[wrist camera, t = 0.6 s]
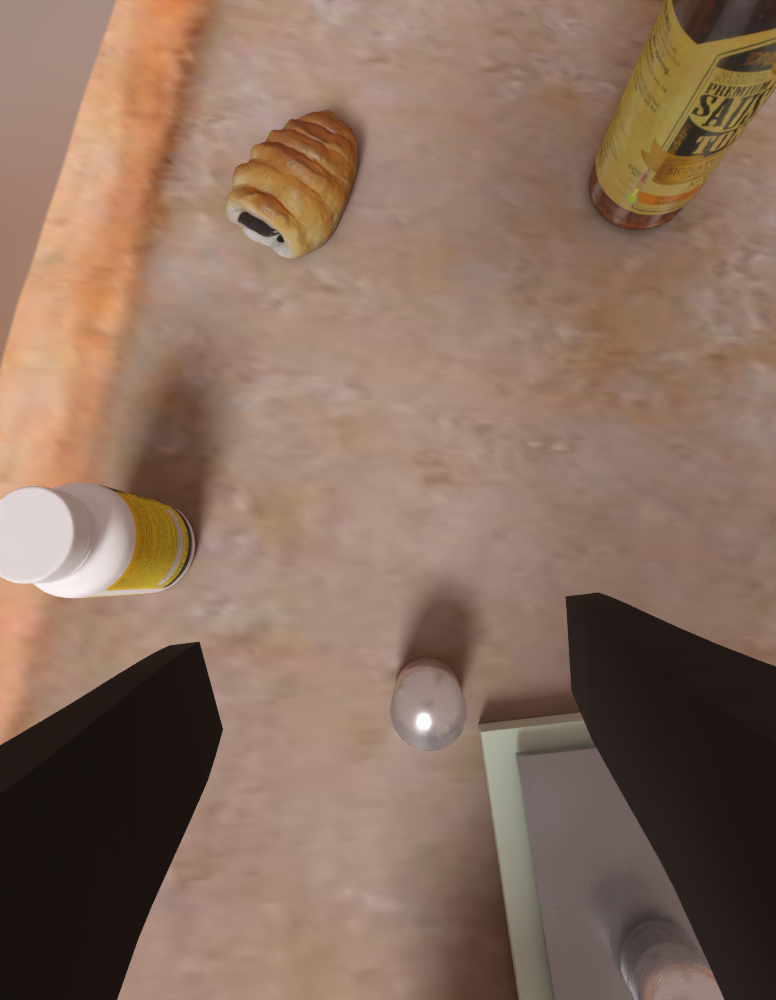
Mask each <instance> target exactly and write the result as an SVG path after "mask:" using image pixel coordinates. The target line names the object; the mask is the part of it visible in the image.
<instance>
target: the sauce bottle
mask: <svg viewBox="0 0 776 1000" xmlns="http://www.w3.org/2000/svg"><path fill="white" fill-rule="evenodd" d="M775 88H776V0H664V3H663V5H662V7H661V9H660V12H659V14H658V16H657V18H656V21H655V23H654V25H653V27H652V30H651V32H650V34H649V36H648V39H647V41H646V43H645V45H644V48H643V50H642V52H641V54H640V57H639V59H638V61H637V63H636V66H635V68H634V70H633V72H632V75H631V77H630V79H629V81H628V84H627V86H626V88H625V90H624V93H623V95H622V97H621V99H620V101H619V104H618V106H617V108H616V110H615V113H614V115H613V117H612V119H611V122H610V124H609V126H608V129H607V131H606V133H605V135H604V138H603V140H602V142H601V144H600V147H599V149H598V151H597V154H596V162H595V164H594V167H593V169H592V173H591V175H590V179H589V191H590V198H591V200H592V202H593V204H594V207H595V208H596V209H597V210H598V211H599V213H600V214H601V216H603V217H604V218H605V219H606V220H607V221H609V222H610V223H611V224H613V225H615V226H619V227H620V228H626V229H631V230H638V229H649V228H653V227H658V226H660V225H661V224H663V223H666V222H669V221H670V220H671V219H672V218H673V217H674V216H675V215H677V213H678V212H679V211H680V210H681V209H682V208H683V206H684V205H686V204H687V203H688V202H690V201H691V200H692V199H693V198H694V196H695V195H696V194H697V193H698V191H699V190H700V188H701V187H702V186H703V184H704V183H705V182H706V180H707V179H708V178H709V176H710V175H711V174H712V172H713V171H714V170H715V168H716V167H717V166H718V164H719V163H720V162H721V160H722V159H723V158H724V156H725V155H726V154H727V152H728V151H729V150H730V148H731V147H732V146H733V144H734V143H735V142H736V140H737V139H738V138H739V136H740V135H741V134H742V132H743V131H744V130H745V128H746V127H747V126H748V125H749V123H750V122H751V121H752V119H753V118H754V116H755V115H756V114H757V112H758V111H759V109H760V108H761V107H762V106H763V104H764V103H765V101H766V100H767V99H768V97H769V96H770V95H771V94H772V92H773V91H774V90H775Z"/></svg>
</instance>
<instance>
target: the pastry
mask: <svg viewBox="0 0 776 1000" xmlns="http://www.w3.org/2000/svg"><path fill="white" fill-rule="evenodd" d="M357 168H358V145H357V142H356V138H355V136H354V134H353V131H352V129H351V128H350V126H348V125H347V124H346V123H345V122H343V121H342V120H340V119H338V118H337V116H336V115H335V114H334V113H333V112H331V111H330V110H326V111H321V112H313V113H309V114H307V115H305V116H303V117H301V118H299V119H297V120H294V119H291V120H289V122H288V123H287V124H286V126H285V127H284V128H283V129H282V130H272V131H271V132H270V133H269V136H268V138H267V141H266V142H263V143H261V144H258V145H255V146H253V148H252V150H251V154H250V161H249V162H248V163H245V164H241V165H239V166H237V167H236V170H235V171H234V174H233V186H232V191H231V193H230V194H229V195H228V199H227V205H226V206H225V213H226V215H227V218H228V220H229V221H230V222H231V223H233V224H234V225H236V226H238V227H239V228H240V229H241V230H243V231H244V234H245V235H246V236H247V237H248V238H250V239H251V240H253V241H254V242H258V243H260V244H262V245H266V246H270V247H272V249H273V250H274V251H275V252H276V253H277V254H278V255H280V256H282V257H284V258H286V259H296V258H299V257H302V256H304V255H306V254H308V253H310V252H312V251H314V250H316V249H318V248H319V247H321V246H322V245H323V244H325V243H326V241H327V240H328V238H329V237H330V235H331V234H332V233H333V231H334V230H336V227H337V225H338V222H339V219H340V218H341V216H342V213H343V210H344V208H345V206H346V203H347V200H348V197H349V194H350V191H351V188H352V185H353V182H354V178H355V175H356V172H357Z"/></svg>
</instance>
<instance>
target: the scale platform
mask: <svg viewBox="0 0 776 1000" xmlns="http://www.w3.org/2000/svg"><path fill="white" fill-rule="evenodd" d="M515 756H516V762H517V769H518V775H519V782H520V788H521V795H522V801H523V808H524V814H525V820H526V827H527V833H528V840H529V846H530V853H531V859H532V866H533V872H534V879H535V885H536V891H537V898H538V904H539V911H540V917H541V924H542V930H543V937H544V943H545V949H546V956H547V962H548V969H549V975H550V982H551V988H552V995H553V1000H635V999H634V997H633V995H632V993H631V991H630V989H629V987H628V985H627V983H626V981H625V979H624V977H623V974H622V971H621V966H620V952H621V947H622V944H623V941H624V939H625V937H626V936H627V934H628V933H629V932H630V931H631V930H632V929H633V928H634V927H635V926H637V925H638V924H640V923H642V922H645V921H649V920H663V921H667V922H670V923H672V924H674V925H676V926H678V927H679V928H681V929H682V930H683V931H684V932H685V933H686V934H687V935H688V936H689V937H690V938H691V940H692V941H693V942H694V944H695V945H696V946H697V948H698V949H699V950H700V952H701V953H702V955H703V956H704V957H705V955H704V953H703V951H702V948H701V946H700V944H699V942H698V940H697V937H696V935H695V933H694V931H693V929H692V926H691V924H690V922H689V920H688V918H687V915H686V913H685V911H684V909H683V907H682V904H681V902H680V900H679V898H678V896H677V893H676V891H675V889H674V887H673V885H672V883H671V881H670V880H669V878H668V876H667V874H666V872H665V870H664V868H663V866H662V864H661V862H660V860H659V858H658V856H657V855H656V853H655V851H654V849H653V848H652V846H651V844H650V842H649V841H648V839H647V837H646V835H645V833H644V832H643V830H642V828H641V826H640V825H639V823H638V821H637V819H636V817H635V816H634V814H633V812H632V810H631V809H630V807H629V805H628V803H627V802H626V800H625V798H624V796H623V794H622V793H621V791H620V789H619V787H618V786H617V784H616V782H615V780H614V779H613V777H612V775H611V773H610V771H609V770H608V768H607V766H606V764H605V762H604V761H603V759H602V757H601V755H600V753H599V752H598V750H597V748H596V746H595V744H589V745H580V746H571V747H562V748H553V749H544V750H535V751H526V752H517V753H515ZM705 959H706V957H705ZM706 960H707V959H706Z"/></svg>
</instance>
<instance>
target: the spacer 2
mask: <svg viewBox="0 0 776 1000" xmlns="http://www.w3.org/2000/svg"><path fill="white" fill-rule="evenodd" d="M620 966H621V971H622V974H623V977H624V979H625V981H626V983H627V985H628V987H629V989H630V991H631V993H632V995H633V997H634V999H635V1000H724V998H723V996H722V994H721V991H720V989H719V987H718V984H717V982H716V980H715V977H714V975H713V973H712V971H711V968H710V966H709V964H708V962H707V960H706V959H705V957H704V956H703V955H702V953H701V952H700V950H699V949H698V948H697V946H696V945H695V944H694V942H693V941H692V940H691V938H690V937H689V936H688V935H687V934H686V933H685V932H684V931H683V930H682V929H681V928H679V927H678V926H676V925H674V924H672V923H670V922H667V921H663V920H649V921H645V922H642V923H640V924H638V925H637V926H635V927H634V928H633V929H632V930H631V931H630V932H629V933H628V934H627V936H626V937H625V939H624V941H623V944H622V947H621V952H620Z"/></svg>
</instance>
